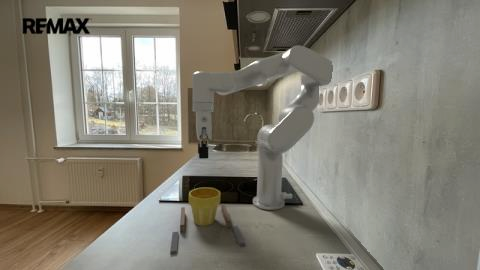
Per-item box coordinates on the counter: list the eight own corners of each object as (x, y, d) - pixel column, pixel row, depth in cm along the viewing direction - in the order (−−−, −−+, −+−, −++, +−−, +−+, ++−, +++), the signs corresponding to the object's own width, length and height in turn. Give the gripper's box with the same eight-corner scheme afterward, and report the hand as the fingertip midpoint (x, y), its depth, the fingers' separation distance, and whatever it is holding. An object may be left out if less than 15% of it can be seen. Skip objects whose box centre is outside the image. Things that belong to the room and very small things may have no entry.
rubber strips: (237, 227, 69) (237, 225, 69) (244, 245, 60) (244, 242, 60) (172, 234, 64) (172, 232, 64) (170, 254, 56) (170, 251, 56)
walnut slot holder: (224, 210, 80) (224, 204, 80) (230, 227, 69) (230, 220, 69) (181, 214, 77) (181, 207, 77) (180, 232, 65) (180, 225, 65)
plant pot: (222, 214, 77) (223, 187, 76) (216, 230, 67) (217, 199, 66) (194, 212, 78) (194, 186, 77) (184, 227, 68) (184, 197, 67)
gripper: (216, 107, 71) (215, 161, 73) (211, 108, 88) (210, 151, 90) (193, 107, 69) (192, 161, 71) (192, 107, 86) (192, 151, 88)
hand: (202, 155), depth 80 cm, fingers open, 7 cm apart
